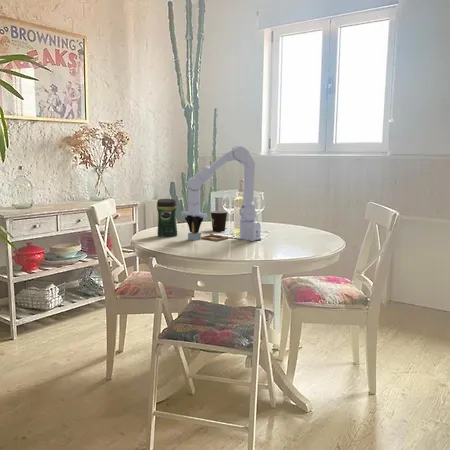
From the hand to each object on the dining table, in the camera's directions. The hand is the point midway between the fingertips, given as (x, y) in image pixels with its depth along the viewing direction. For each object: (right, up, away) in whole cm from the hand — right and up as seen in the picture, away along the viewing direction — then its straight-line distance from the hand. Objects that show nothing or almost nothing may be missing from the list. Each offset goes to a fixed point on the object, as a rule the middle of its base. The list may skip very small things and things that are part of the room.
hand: (194, 232), depth 227 cm
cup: (0, -4, +1) cm, 4 cm away
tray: (+9, -4, +2) cm, 10 cm away
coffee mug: (+11, 0, +29) cm, 31 cm away
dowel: (0, -3, +1) cm, 3 cm away
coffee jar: (-14, -2, +10) cm, 18 cm away
